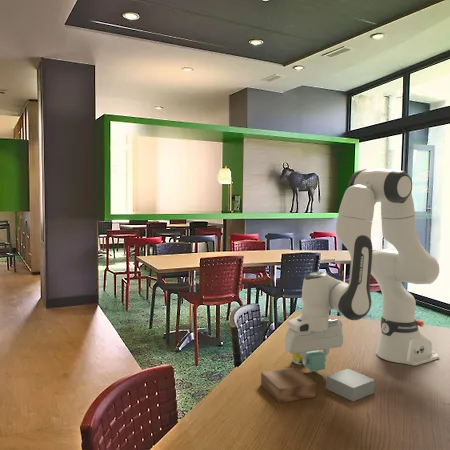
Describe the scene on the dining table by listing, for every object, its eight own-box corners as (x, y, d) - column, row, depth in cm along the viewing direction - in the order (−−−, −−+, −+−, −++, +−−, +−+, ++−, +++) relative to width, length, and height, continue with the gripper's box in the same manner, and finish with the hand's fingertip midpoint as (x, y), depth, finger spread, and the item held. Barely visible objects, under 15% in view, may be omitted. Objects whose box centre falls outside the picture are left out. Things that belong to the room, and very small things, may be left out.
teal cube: (316, 363, 148) (316, 349, 147) (324, 369, 143) (325, 354, 143) (303, 365, 146) (303, 350, 146) (311, 371, 141) (311, 356, 141)
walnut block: (295, 379, 139) (295, 367, 139) (315, 396, 128) (316, 383, 128) (260, 384, 135) (261, 372, 134) (279, 402, 124) (279, 389, 123)
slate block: (347, 380, 139) (347, 368, 139) (374, 392, 131) (374, 379, 131) (325, 388, 133) (326, 375, 133) (352, 401, 125) (353, 388, 125)
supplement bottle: (300, 366, 150) (301, 337, 149) (289, 361, 154) (290, 332, 153) (311, 363, 153) (312, 334, 152) (300, 358, 157) (301, 330, 156)
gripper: (336, 315, 150) (335, 354, 151) (283, 322, 143) (282, 363, 144) (347, 321, 144) (346, 361, 145) (292, 328, 137) (291, 370, 138)
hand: (314, 362), depth 144 cm, fingers closed on teal cube, 5 cm apart
